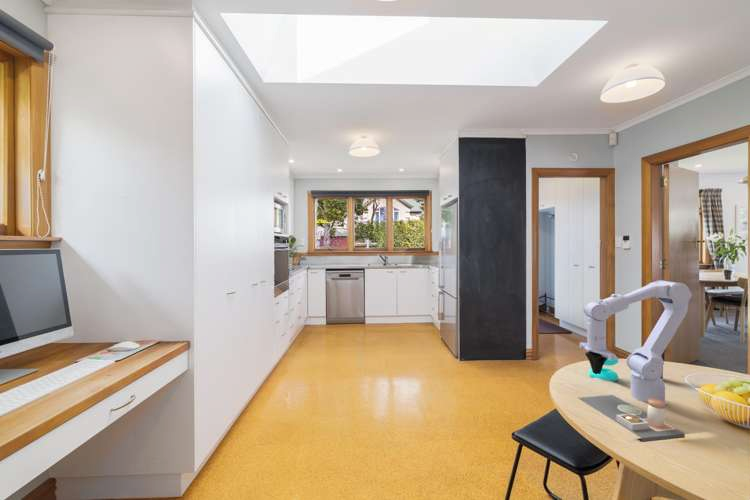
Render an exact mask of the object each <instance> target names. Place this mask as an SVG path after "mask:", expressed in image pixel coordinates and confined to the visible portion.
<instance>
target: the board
mask: <svg viewBox="0 0 750 500" xmlns="http://www.w3.org/2000/svg"><path fill="white" fill-rule="evenodd" d="M578 399H579V400H580V401H581V402H583V403H585V404H586V405H588V406H590V407H592V408H593V409H594V410H596V411H598V413H601V414H602V415H604V416H605V417H607V418H609V419H611V420H612V421H613V422H615V423H616V424H618V425H621V427H623V428H624V429H627V430H628V431H629V432H631V433H633V434H635V435H636V436H637V440H638V441H639V442H641V443H644V442H645V443H646V442H656V441H665V440H674V439H675V440H677V439H685V438H686V437H685V436H686V435H685V432H682V431H681V430H679V429H677V428H675V427H673V426H671V425H669V424H667V423H666V422H664V427H663V428H659V427H655V426H652V425H650V424H649V423H648V422H647V412H645V411H643V410H641V409H640V408H637V407H636V406H634V405H632V404H630V403H628V402H627V401H625V400H622V399H621V398H619V397H617V396H616V395H614V394H610V395H609V394H608V395H598V396H585V397H584V396H583V397H578ZM626 414H631V415H635V416H637V417H639V418H640V423H631V422H629V421H628V420H626V419H625V415H626ZM638 437H640V438H638Z"/></svg>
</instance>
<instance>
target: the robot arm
mask: <svg viewBox="0 0 750 500" xmlns="http://www.w3.org/2000/svg"><path fill="white" fill-rule="evenodd" d="M692 296H693V294H692V292H691V289H690V288H689V286H688V285H686V284H685V283H682V282H676V281H675V282H674V281H668V280H667V281H666V280H664V279H659V280H656V281H653V282H649V283H648V284H646V285H644V286H642V287H640V288H638V289H635V290H633V291H630V292H628V293H626V294H624V295H623V294H619V293H617V294H616V293H613V294H610V296H609V297H606V298H603V299H601V298H600V299H598V300H597V302H595V301H593V302H592V301H591V302H589V303H587V305H585V308H583V312H584V314H585V316H586V318H587V319H586V321H587V322H586V327H587V328H586V331H587V332H586V333H587V334H586V335H587V336H586V340H587V341H586V342H585V341H584V342H583V341H581V342H579V348H580V349H584V350H585V351H586V352H585V356H586V357H587V359H588V362H589V364H590V369H592V372H593V373H594V374H600V373H601V370H602V368H604V367H603V366H605V365H604V363H605V361H606V360H607V359H609V360H616V357H617V356H616V355H617V354H615V353H614V352H612V351H610V350H609V349H607V320H608V319H609V318H610V316H611V315H614V314H617V313H620V312H623V311H625V310H627V309H629V306H630V305H631V304H634V303H637V302H641V301H644V300H647V299H650V298H657V300H659V301H660V302H661V304H662V306H663V307H664V310H663V313H661V316H660V317H659V319H658V321H656V322H657V323H656V324H655V326H654V328H653V329H652V331H651V332H650V334H649V336H648V337H647V339H646V341H645V342H644V344H643V346H641V347H638V348H636V349H635V350H634V351H633V353H631V354H629V355H628V356H627V358H626V363H625V364H626V365H627V367H628V368H629V371H630V396H631V397H632V398H633V399H635V400H637V401H641V402H645V403H648V399H649V398H653V399H658V400H661V401H663V402H664V403H665V406H666V405H668V402H667V401H666V384H665V382H664V380H663V379H661V378H660V376H661V374H662V367H663V368H664V365H665V362H664V358H663V359H662V357H661V355H662V353H663V354H664V352H665V350H666V348H668V345H669V344H670V342H671V340H672V338H673V337H674V335H675V334H676V332H677V330H678V329H679V326H680V325H681V324H682V322H683V320H684V319H685V317H686V315H687V314H688V311H689V301H690V299H691V298H692Z"/></svg>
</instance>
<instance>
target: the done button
mask: <svg viewBox="0 0 750 500" xmlns="http://www.w3.org/2000/svg"><path fill="white" fill-rule="evenodd" d="M625 419H626V420H628V421H629V422H631V423H640V418H639V417H637V416H635V415H631V414H626V415H625Z"/></svg>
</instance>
